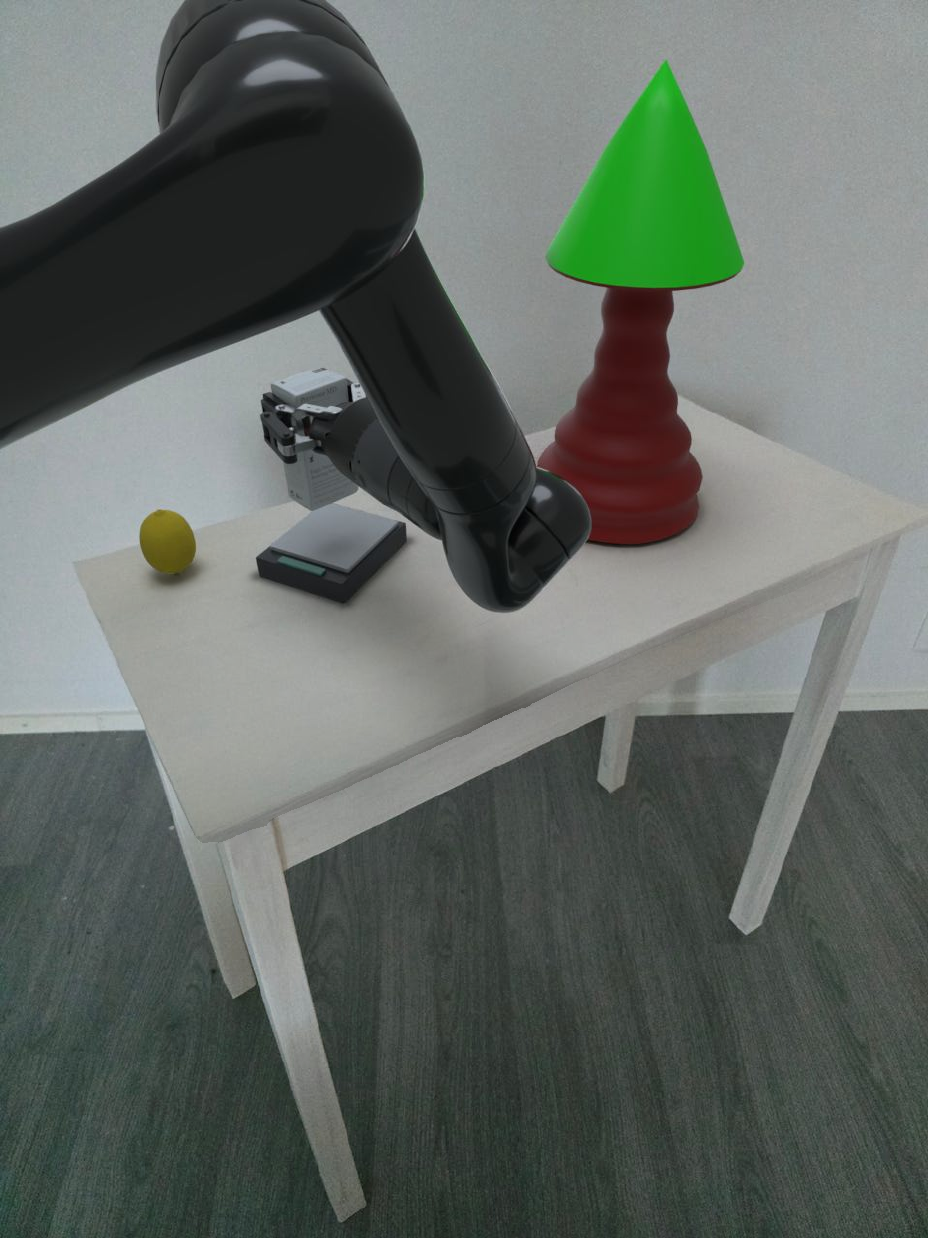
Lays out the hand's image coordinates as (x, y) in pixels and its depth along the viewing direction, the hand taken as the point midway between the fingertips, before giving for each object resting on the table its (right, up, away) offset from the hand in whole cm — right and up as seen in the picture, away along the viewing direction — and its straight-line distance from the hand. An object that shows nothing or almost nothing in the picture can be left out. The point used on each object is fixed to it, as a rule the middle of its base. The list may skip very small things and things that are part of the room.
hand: (299, 393), depth 80 cm
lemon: (-16, -17, +11) cm, 25 cm away
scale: (+1, -15, +13) cm, 20 cm away
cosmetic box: (+2, -9, +5) cm, 10 cm away
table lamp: (+34, -8, +21) cm, 41 cm away
